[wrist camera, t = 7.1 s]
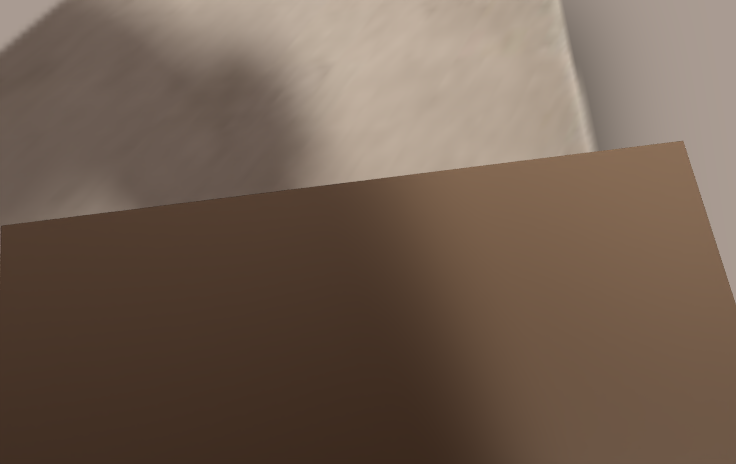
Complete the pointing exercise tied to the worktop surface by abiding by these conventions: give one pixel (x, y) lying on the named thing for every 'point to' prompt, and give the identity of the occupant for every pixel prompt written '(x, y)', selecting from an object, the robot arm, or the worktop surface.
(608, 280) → the walnut block
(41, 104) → the worktop surface
